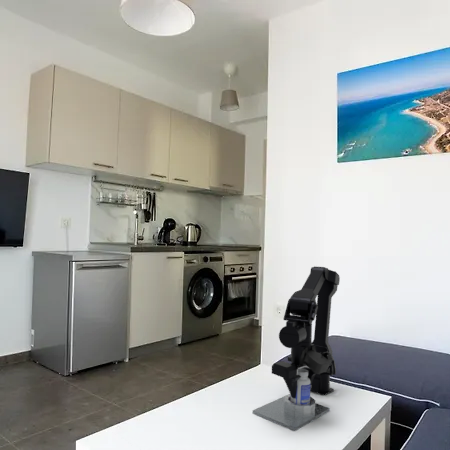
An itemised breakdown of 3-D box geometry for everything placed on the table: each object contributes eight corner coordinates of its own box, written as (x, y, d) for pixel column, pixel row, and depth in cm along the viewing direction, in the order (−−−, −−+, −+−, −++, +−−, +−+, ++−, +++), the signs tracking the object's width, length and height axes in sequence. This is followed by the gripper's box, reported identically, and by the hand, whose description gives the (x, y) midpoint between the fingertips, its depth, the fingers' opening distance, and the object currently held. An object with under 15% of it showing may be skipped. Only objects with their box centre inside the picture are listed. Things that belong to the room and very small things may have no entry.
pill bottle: (310, 403, 114) (311, 368, 114) (308, 410, 108) (310, 374, 109) (291, 400, 115) (293, 366, 116) (288, 406, 110) (290, 371, 111)
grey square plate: (289, 396, 124) (289, 384, 124) (329, 411, 114) (329, 397, 114) (252, 413, 111) (252, 399, 111) (294, 431, 101) (294, 416, 101)
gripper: (303, 352, 100) (301, 414, 100) (344, 341, 112) (343, 397, 112) (270, 342, 109) (269, 399, 108) (312, 333, 121) (311, 385, 120)
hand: (300, 395), depth 112 cm, fingers closed on pill bottle, 5 cm apart
